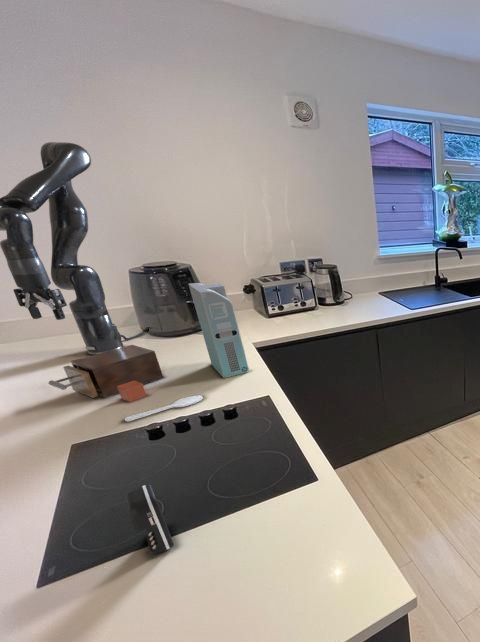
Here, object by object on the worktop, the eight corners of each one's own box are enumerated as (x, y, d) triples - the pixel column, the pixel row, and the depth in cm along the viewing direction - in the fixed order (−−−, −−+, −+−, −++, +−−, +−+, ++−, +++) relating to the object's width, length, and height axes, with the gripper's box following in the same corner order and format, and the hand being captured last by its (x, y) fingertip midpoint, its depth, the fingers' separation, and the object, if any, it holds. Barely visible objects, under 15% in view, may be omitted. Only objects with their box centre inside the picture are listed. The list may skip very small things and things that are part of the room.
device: (249, 371, 141) (228, 288, 130) (224, 378, 136) (199, 292, 124) (235, 358, 151) (215, 280, 140) (211, 364, 146) (188, 283, 135)
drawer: (71, 405, 115) (60, 380, 112) (51, 396, 120) (40, 373, 117) (150, 378, 132) (142, 356, 129) (130, 372, 136) (122, 350, 133)
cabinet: (104, 397, 122) (92, 368, 118) (82, 389, 126) (70, 361, 123) (163, 377, 135) (154, 350, 131) (141, 370, 140) (132, 344, 136)
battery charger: (141, 538, 74) (120, 490, 70) (167, 527, 77) (148, 479, 72) (148, 560, 70) (125, 510, 65) (175, 547, 72) (155, 498, 68)
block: (121, 399, 121) (116, 386, 120) (138, 392, 125) (134, 380, 123) (129, 402, 120) (124, 389, 118) (147, 395, 123) (142, 383, 122)
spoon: (123, 417, 112) (122, 415, 111) (200, 394, 125) (199, 393, 124) (127, 424, 108) (126, 422, 108) (205, 400, 121) (205, 398, 121)
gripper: (61, 270, 134) (80, 316, 140) (22, 268, 134) (42, 314, 140) (35, 274, 127) (56, 323, 133) (-6, 273, 127) (16, 321, 133)
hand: (49, 318), depth 137 cm, fingers open, 8 cm apart
